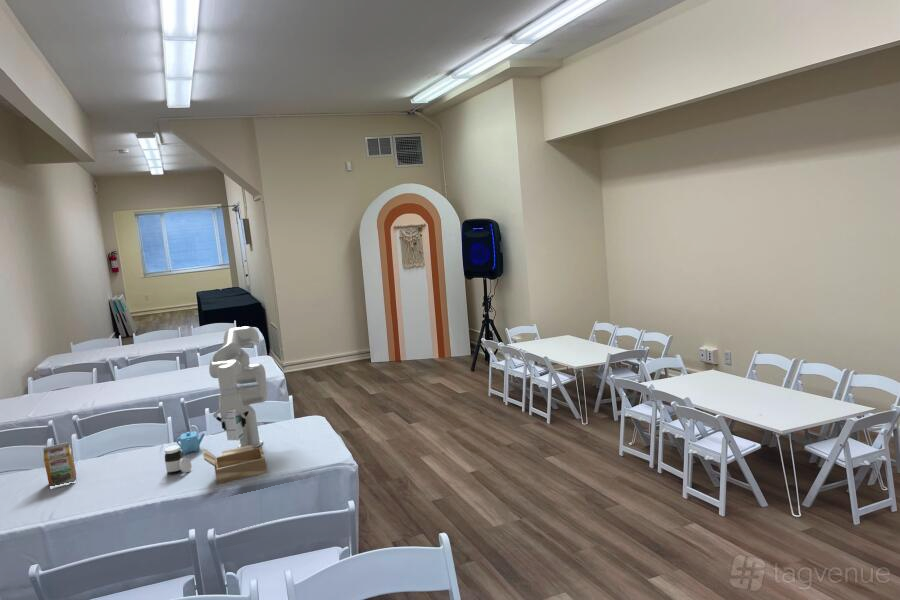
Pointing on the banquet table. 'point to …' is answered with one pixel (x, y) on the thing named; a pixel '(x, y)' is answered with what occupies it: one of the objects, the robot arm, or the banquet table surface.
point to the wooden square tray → (240, 464)
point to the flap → (209, 458)
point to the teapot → (190, 442)
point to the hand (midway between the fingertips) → (234, 427)
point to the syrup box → (234, 425)
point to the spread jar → (176, 460)
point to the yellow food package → (59, 464)
